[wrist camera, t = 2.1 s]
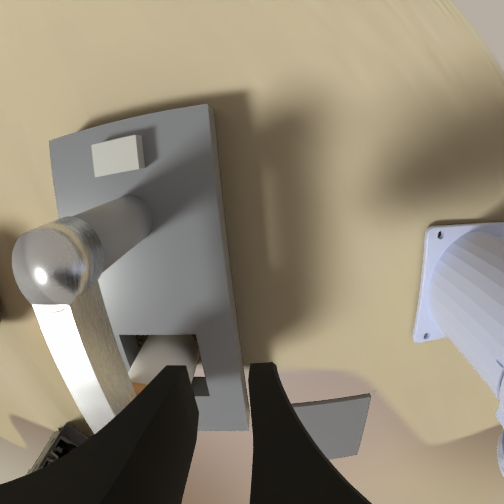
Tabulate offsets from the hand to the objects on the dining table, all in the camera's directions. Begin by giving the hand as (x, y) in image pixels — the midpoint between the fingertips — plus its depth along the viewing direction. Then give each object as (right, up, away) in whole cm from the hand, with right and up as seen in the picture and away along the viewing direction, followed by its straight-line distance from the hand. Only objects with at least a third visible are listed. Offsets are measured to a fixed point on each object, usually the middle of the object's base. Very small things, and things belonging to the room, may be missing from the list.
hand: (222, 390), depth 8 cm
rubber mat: (+6, -11, +13) cm, 18 cm away
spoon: (-5, -1, +2) cm, 5 cm away
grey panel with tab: (-5, +2, +9) cm, 11 cm away
